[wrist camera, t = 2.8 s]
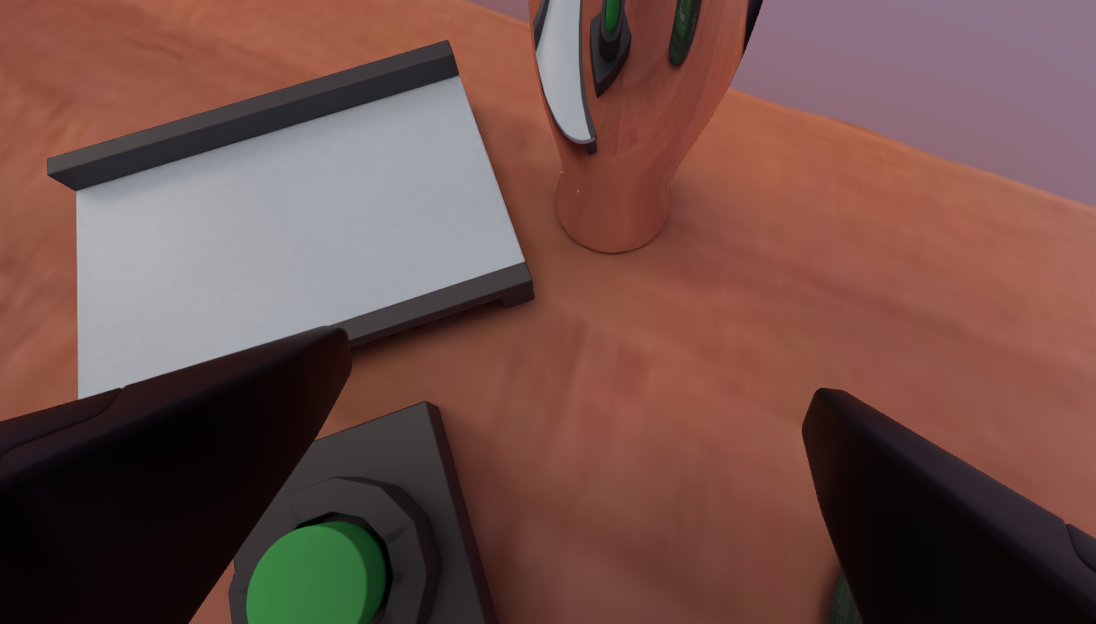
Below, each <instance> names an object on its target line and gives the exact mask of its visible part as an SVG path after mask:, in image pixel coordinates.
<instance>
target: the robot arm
mask: <svg viewBox="0 0 1096 624" xmlns="http://www.w3.org/2000/svg"><path fill="white" fill-rule="evenodd" d="M351 369H352V359H351V352H350V345H349V338H348V333H347V331H346V330H345V329H344V328H342V327H336V326H328V325H324V326H320V327H317V328H313V329H310V330H307V331H303V332H300V333H297V334H294V335H290V336H287V337H284V338H280V339H277V340H274V341H271V342H267V343H264V344H261V345H257V346H254V347H251V348H248V349H244V350H241V351H238V352H234V353H231V354H228V355H224V356H221V357H218V358H215V359H211V360H208V361H205V362H201V363H198V364H195V365H192V366H188V367H185V368H182V369H178V370H175V371H172V372H168V373H165V374H162V375H159V376H155V377H152V378H149V379H145V380H142V381H139V382H136V383H132V384H129V385H126V386H125V387H124V388H123V389H122V388H115V389H112V390H109V391H106V392H102V393H99V394H96V395H92V396H89V397H86V398H82V399H79V400H75V401H72V402H69V403H65V404H62V405H58V406H55V407H51V408H48V409H44V410H40V411H37V412H33V413H30V414H26V415H22V416H19V417H15V418H11V419H8V420H4V421H0V624H189V622H190V621H191V619H192V618H193V616H194V615H195V613H196V612H197V610H198V609H199V608H200V606H201V605H202V603H203V602H204V600H205V599H206V597H207V596H208V594H209V593H210V592H211V590H212V589H213V587H214V586H215V584H216V583H217V581H218V580H219V578H220V577H221V575H222V574H223V573H224V571H225V570H226V568H227V567H228V565H229V564H230V562H231V561H232V559H233V558H234V557H235V555H236V554H237V552H238V551H239V549H240V548H241V546H242V545H243V543H244V542H245V541H246V539H247V538H248V536H249V535H250V533H251V532H252V530H253V529H254V527H255V526H256V524H257V523H258V522H259V520H260V519H261V517H262V516H263V514H264V513H265V511H266V510H267V508H268V507H269V506H270V504H271V503H272V501H273V500H274V498H275V497H276V495H277V494H278V492H279V491H280V490H281V488H282V487H283V485H284V484H285V482H286V481H287V479H288V478H289V476H290V475H291V473H292V472H293V471H294V469H295V468H296V466H297V465H298V463H299V462H300V460H301V459H302V457H303V456H304V455H305V453H306V452H307V450H308V449H309V447H310V446H311V444H312V443H313V441H314V440H315V438H316V436H317V435H318V433H319V431H320V430H321V428H322V426H323V424H324V422H325V421H326V419H327V417H328V415H329V413H330V411H331V409H332V408H333V406H334V404H335V402H336V400H337V398H338V396H339V394H340V393H341V391H342V389H343V387H344V385H345V383H346V381H347V380H348V378H349V376H350V373H351ZM802 437H803V441H804V445H805V449H806V453H807V457H808V462H809V466H810V470H811V474H812V478H813V482H814V486H815V490H816V494H817V498H818V502H819V505H820V509H821V512H822V515H823V518H824V521H825V524H826V527H827V529H828V532H829V535H830V537H831V540H832V543H833V545H834V548H835V551H836V554H837V556H838V559H839V562H840V564H841V567H842V570H843V572H844V575H845V578H846V580H847V583H848V586H849V589H850V591H851V594H852V597H853V599H854V602H855V605H856V607H857V610H858V613H859V615H860V618H861V621H862V624H1096V539H1095V538H1093V537H1091V536H1090V535H1088V534H1086V533H1085V532H1083V531H1081V530H1080V529H1078V528H1076V527H1075V526H1073V525H1071V524H1066V525H1065V522H1064V521H1063V520H1062V519H1061V518H1059V517H1057V516H1056V515H1054V514H1052V513H1051V512H1049V511H1047V510H1045V509H1044V508H1042V507H1040V506H1039V505H1037V504H1035V503H1034V502H1032V501H1030V500H1029V499H1027V498H1025V497H1023V496H1022V495H1020V494H1018V493H1017V492H1015V491H1013V490H1012V489H1010V488H1008V487H1007V486H1005V485H1003V484H1001V483H1000V482H998V481H996V480H995V479H993V478H991V477H990V476H988V475H986V474H985V473H983V472H981V471H979V470H978V469H976V468H974V467H973V466H971V465H969V464H968V463H966V462H964V461H962V460H961V459H959V458H957V457H956V456H954V455H952V454H951V453H949V452H947V451H946V450H944V449H942V448H940V447H939V446H937V445H935V444H934V443H932V442H930V441H929V440H927V439H925V438H924V437H922V436H920V435H918V434H917V433H915V432H913V431H912V430H910V429H908V428H907V427H905V426H903V425H902V424H900V423H898V422H896V421H895V420H893V419H891V418H890V417H888V416H886V415H885V414H883V413H881V412H879V411H878V410H876V409H874V408H873V407H871V406H869V405H868V404H866V403H864V402H863V401H861V400H859V399H857V398H856V397H854V396H852V395H851V394H849V393H847V392H846V391H843V390H838V389H830V388H820V389H818V390H817V391H816V392H815V393H814V395H813V398H812V401H811V403H810V406H809V408H808V411H807V414H806V416H805V419H804V422H803V425H802Z"/></svg>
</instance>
